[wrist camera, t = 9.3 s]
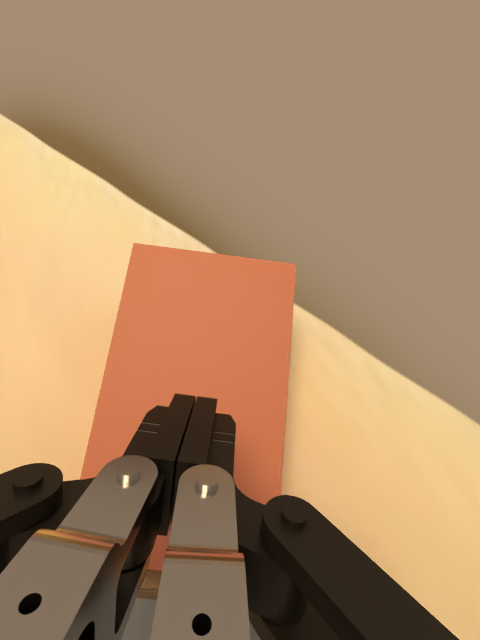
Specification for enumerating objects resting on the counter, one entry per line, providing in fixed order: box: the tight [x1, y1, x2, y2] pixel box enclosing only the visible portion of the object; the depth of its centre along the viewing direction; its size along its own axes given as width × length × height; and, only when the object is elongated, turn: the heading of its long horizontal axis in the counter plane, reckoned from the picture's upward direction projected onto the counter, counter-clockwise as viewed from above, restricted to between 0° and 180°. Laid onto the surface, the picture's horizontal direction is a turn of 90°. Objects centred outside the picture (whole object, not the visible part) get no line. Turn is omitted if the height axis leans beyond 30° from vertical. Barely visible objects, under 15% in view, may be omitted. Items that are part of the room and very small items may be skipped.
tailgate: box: [80, 243, 296, 571], centre depth 17 cm, size 2×9×15 cm
